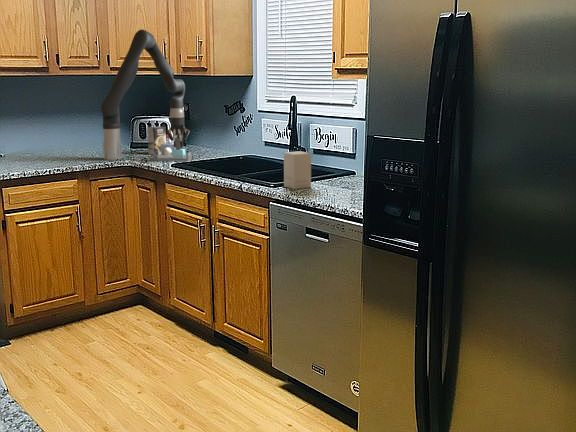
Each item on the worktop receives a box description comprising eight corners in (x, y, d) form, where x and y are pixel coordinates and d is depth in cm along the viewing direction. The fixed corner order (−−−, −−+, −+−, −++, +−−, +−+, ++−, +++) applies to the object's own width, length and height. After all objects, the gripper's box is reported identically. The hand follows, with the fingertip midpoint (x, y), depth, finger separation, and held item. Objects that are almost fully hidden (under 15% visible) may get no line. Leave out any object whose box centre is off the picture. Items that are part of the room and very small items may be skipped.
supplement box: (311, 187, 275) (312, 153, 272) (294, 189, 271) (294, 154, 267) (300, 184, 283) (300, 150, 279) (283, 186, 279) (283, 152, 275)
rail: (153, 160, 353) (153, 152, 352) (157, 159, 358) (156, 151, 357) (188, 161, 350) (187, 153, 349) (191, 159, 356) (191, 151, 355)
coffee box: (155, 155, 374) (154, 127, 370) (148, 154, 378) (146, 127, 374) (167, 153, 381) (165, 126, 378) (159, 152, 385) (158, 126, 381)
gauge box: (161, 158, 362) (160, 144, 360) (165, 156, 369) (164, 142, 368) (174, 158, 361) (174, 144, 359) (178, 156, 368) (178, 142, 366)
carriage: (172, 157, 351) (171, 139, 349) (175, 156, 356) (174, 138, 354) (183, 158, 350) (182, 139, 348) (185, 156, 355) (184, 138, 353)
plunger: (165, 144, 362) (165, 134, 361) (167, 144, 366) (167, 134, 364) (171, 144, 362) (170, 134, 361) (173, 144, 365) (172, 134, 364)
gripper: (191, 116, 351) (192, 147, 355) (167, 115, 353) (168, 146, 357) (187, 117, 343) (188, 149, 347) (162, 116, 345) (164, 148, 349)
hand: (178, 147), depth 352 cm, fingers closed on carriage, 2 cm apart
